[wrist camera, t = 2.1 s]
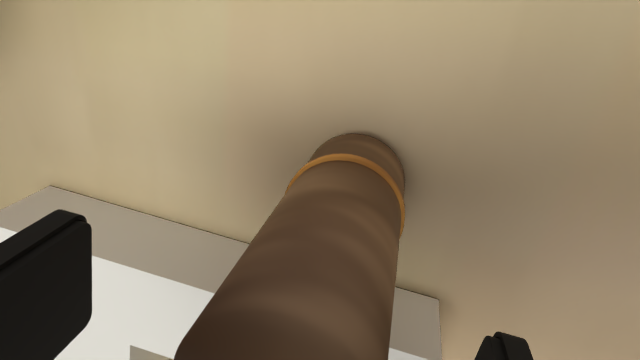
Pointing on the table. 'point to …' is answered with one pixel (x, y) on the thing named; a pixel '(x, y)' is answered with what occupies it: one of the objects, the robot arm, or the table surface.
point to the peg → (315, 266)
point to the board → (174, 282)
